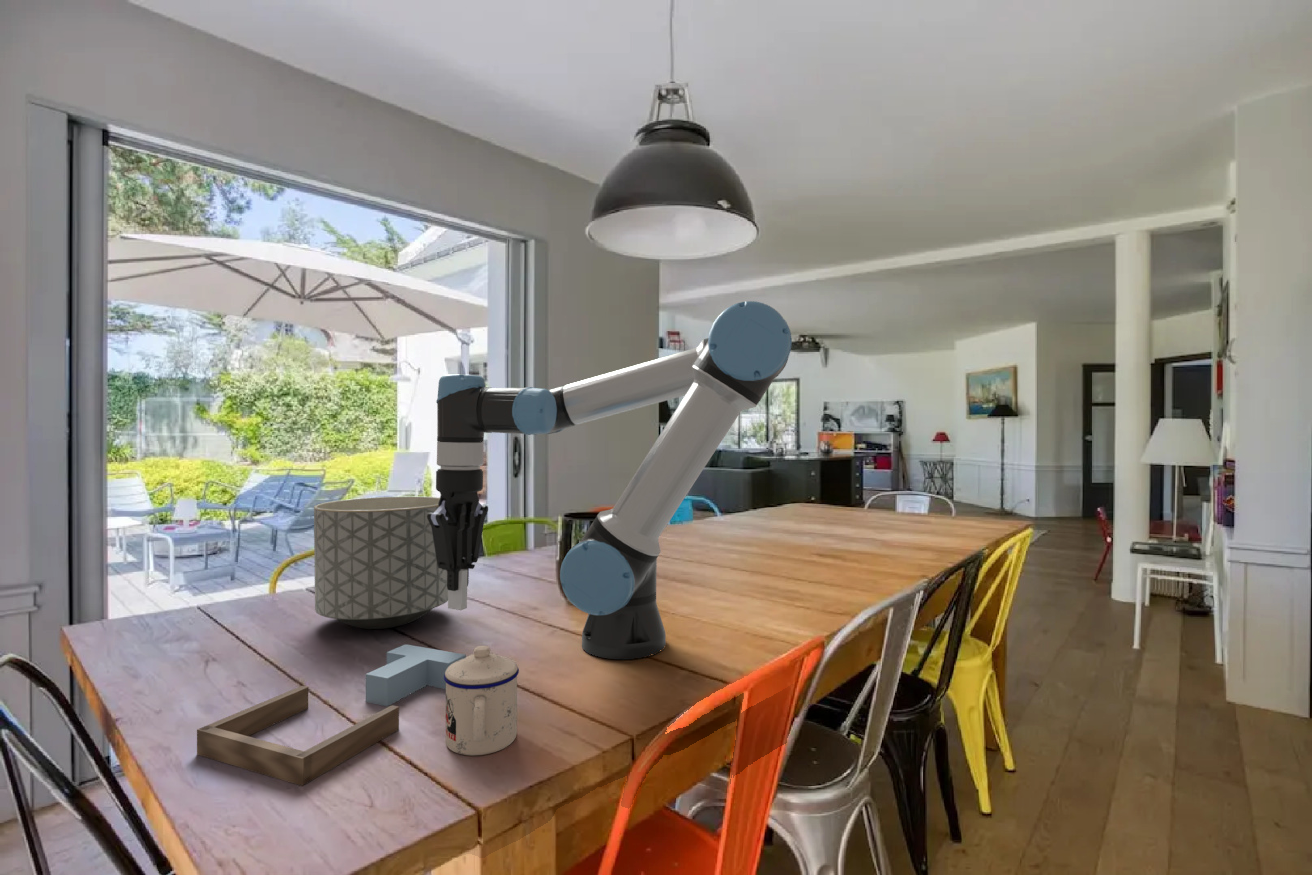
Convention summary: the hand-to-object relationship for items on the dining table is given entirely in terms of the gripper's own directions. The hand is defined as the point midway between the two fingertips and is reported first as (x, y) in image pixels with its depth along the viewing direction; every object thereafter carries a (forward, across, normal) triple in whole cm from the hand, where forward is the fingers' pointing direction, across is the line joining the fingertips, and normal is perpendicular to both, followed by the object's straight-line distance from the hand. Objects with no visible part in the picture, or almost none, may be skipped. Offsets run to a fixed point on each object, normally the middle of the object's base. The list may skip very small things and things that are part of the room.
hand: (457, 608), depth 108 cm
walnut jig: (+9, +30, +1) cm, 31 cm away
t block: (+9, +12, +1) cm, 15 cm away
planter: (+10, -12, -28) cm, 32 cm away
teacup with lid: (+9, +22, +22) cm, 32 cm away
